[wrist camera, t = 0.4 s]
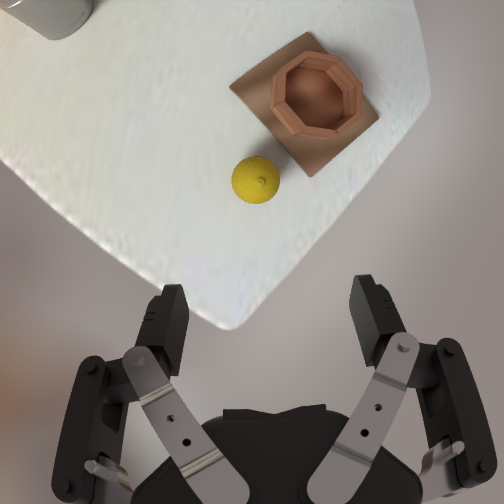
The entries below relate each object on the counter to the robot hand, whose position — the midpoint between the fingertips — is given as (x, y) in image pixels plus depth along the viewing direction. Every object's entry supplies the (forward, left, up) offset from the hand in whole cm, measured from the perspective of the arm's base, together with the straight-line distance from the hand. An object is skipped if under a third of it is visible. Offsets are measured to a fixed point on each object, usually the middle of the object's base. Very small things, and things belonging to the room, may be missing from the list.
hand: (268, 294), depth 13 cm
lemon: (-1, +4, -26) cm, 27 cm away
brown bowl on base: (-4, +17, -26) cm, 32 cm away
